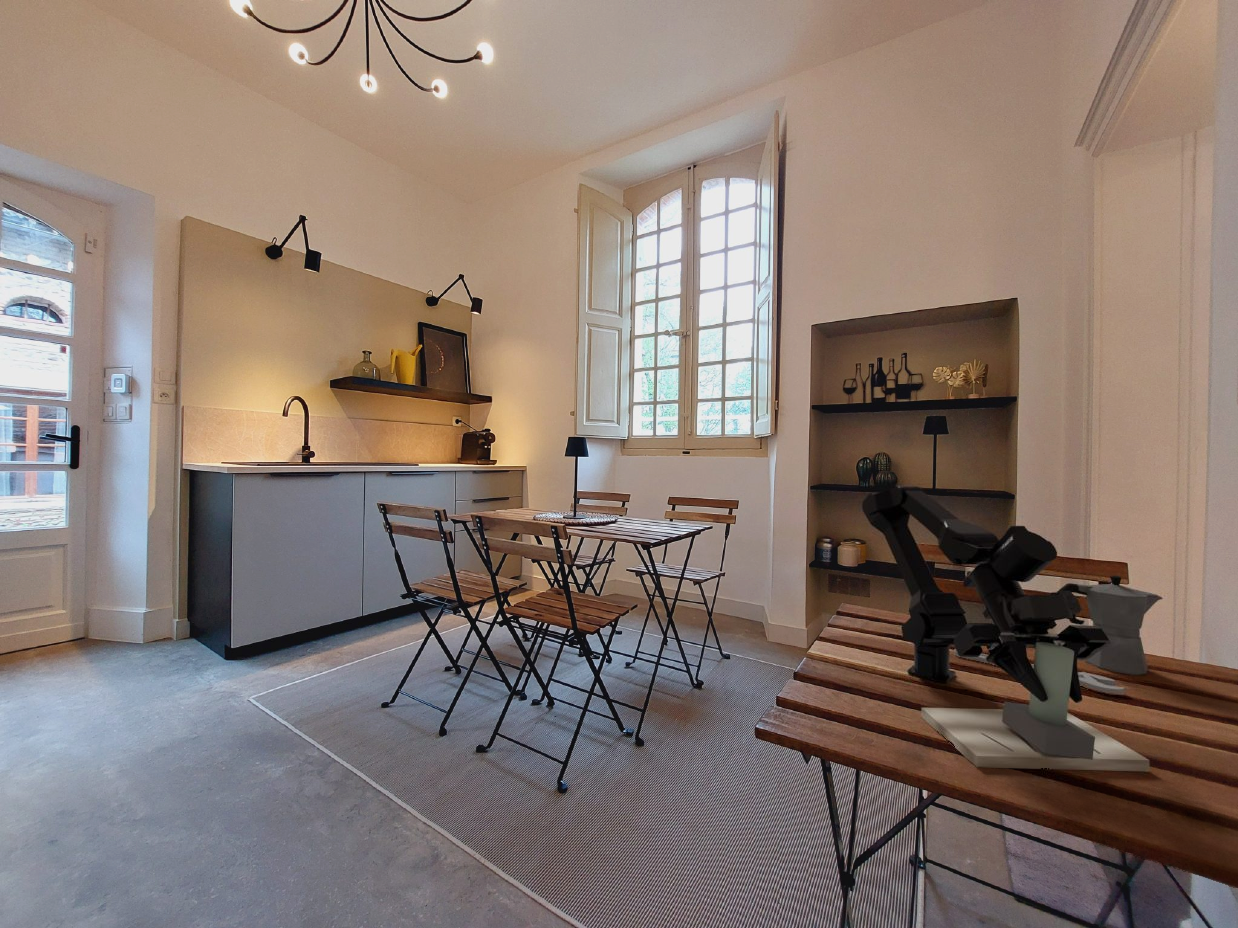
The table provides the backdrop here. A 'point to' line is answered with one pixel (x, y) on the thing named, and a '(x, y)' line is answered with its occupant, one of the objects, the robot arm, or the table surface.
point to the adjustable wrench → (1084, 678)
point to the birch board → (1023, 743)
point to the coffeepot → (1117, 623)
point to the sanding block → (1050, 708)
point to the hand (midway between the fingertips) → (1062, 701)
